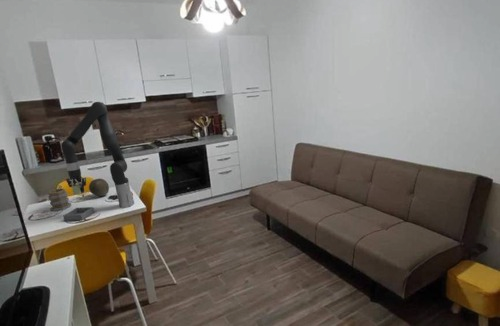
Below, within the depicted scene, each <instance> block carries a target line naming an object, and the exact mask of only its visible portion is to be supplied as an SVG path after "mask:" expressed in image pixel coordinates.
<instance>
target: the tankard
mask: <svg viewBox="0 0 500 326" xmlns="http://www.w3.org/2000/svg"><path fill="white" fill-rule="evenodd" d="M47 197H48V200H50V202H49V203H50V204H49V205H50V206H51V208H50V211H51V212H60V211H64V210H66V209H68V208H70V207H71V206H72V203H71V202H69V201H70V199H69V197H68V192H67V191H66V188H63V186H62V185H58V188H55V189H52V190H50V191H49V192H48V196H47Z"/></svg>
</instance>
